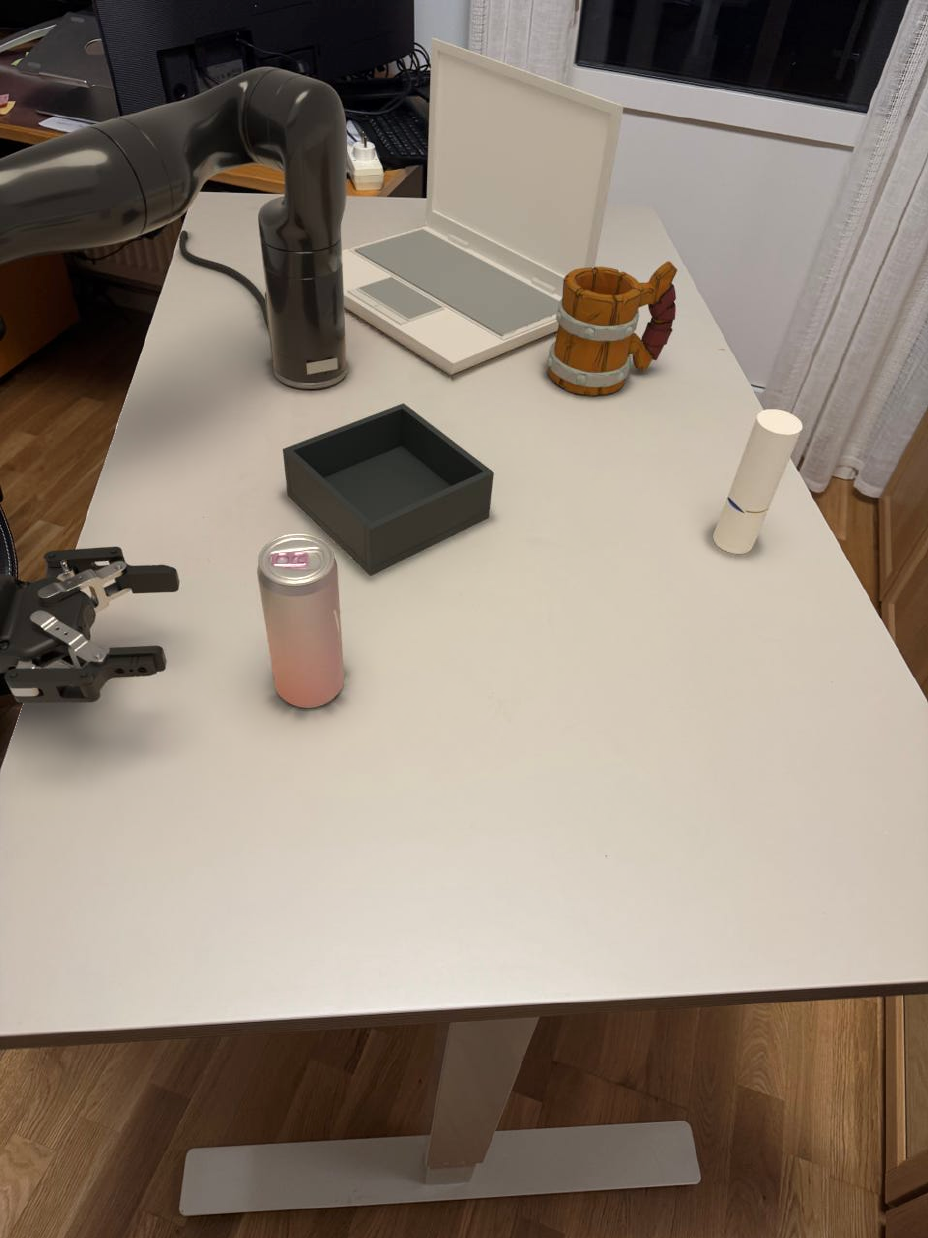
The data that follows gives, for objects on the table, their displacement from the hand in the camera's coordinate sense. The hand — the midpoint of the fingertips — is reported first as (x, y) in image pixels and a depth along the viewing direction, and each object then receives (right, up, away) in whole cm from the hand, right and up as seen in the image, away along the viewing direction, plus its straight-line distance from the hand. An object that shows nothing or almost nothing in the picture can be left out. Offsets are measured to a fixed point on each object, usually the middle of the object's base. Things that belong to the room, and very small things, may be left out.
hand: (171, 616), depth 66 cm
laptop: (+19, +46, +59) cm, 77 cm away
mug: (+42, +33, +48) cm, 71 cm away
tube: (+52, +8, +25) cm, 58 cm away
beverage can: (+9, -6, +8) cm, 14 cm away
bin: (+15, +12, +25) cm, 32 cm away
